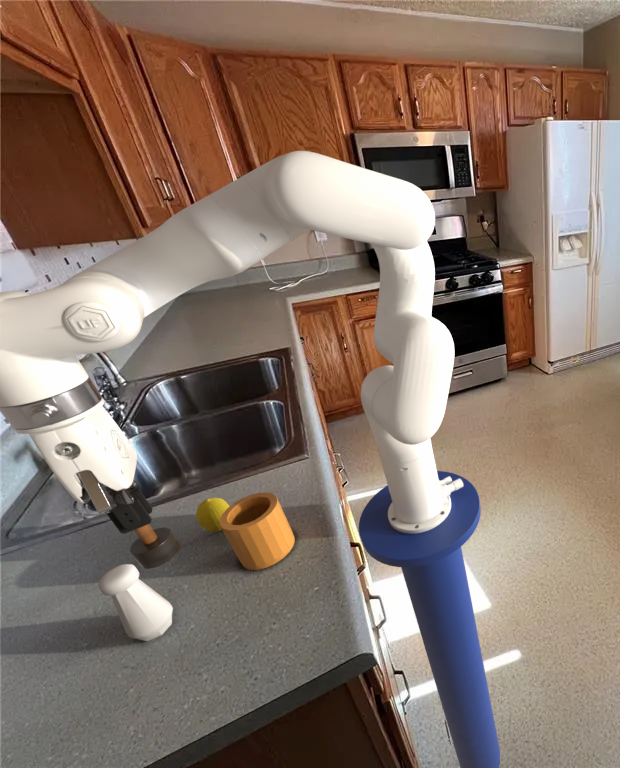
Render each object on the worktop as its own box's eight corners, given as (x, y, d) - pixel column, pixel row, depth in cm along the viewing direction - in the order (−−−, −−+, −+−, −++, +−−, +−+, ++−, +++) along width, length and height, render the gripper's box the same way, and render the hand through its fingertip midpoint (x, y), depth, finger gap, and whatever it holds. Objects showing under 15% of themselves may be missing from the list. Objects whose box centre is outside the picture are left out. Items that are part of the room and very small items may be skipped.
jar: (290, 523, 84) (273, 485, 80) (299, 552, 77) (281, 512, 73) (239, 546, 80) (218, 507, 75) (243, 579, 73) (220, 539, 68)
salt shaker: (175, 633, 65) (134, 579, 59) (130, 654, 62) (82, 599, 56) (180, 604, 69) (142, 550, 63) (138, 622, 67) (95, 568, 61)
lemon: (200, 541, 82) (182, 511, 78) (217, 520, 87) (201, 491, 83) (228, 539, 82) (211, 509, 78) (243, 518, 87) (228, 488, 83)
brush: (180, 536, 61) (139, 473, 55) (180, 556, 58) (136, 491, 52) (142, 553, 59) (94, 489, 53) (139, 575, 55) (88, 509, 50)
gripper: (86, 419, 43) (171, 543, 51) (106, 371, 54) (173, 479, 63) (-18, 449, 39) (92, 578, 48) (28, 391, 50) (110, 503, 59)
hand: (137, 521), depth 55 cm, fingers closed on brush
